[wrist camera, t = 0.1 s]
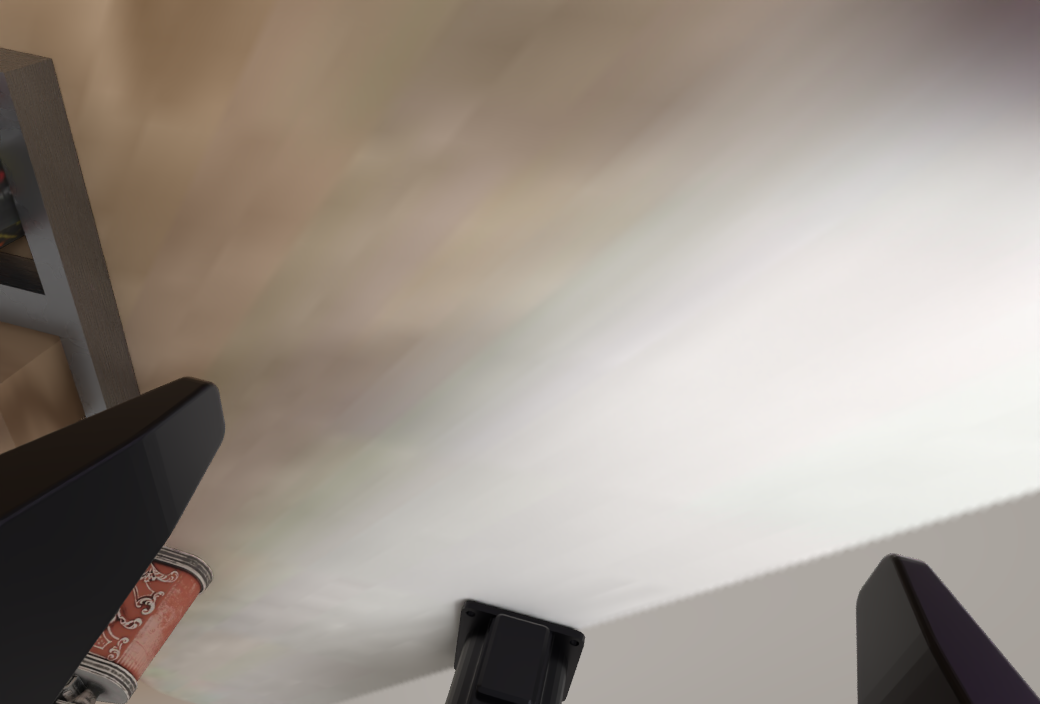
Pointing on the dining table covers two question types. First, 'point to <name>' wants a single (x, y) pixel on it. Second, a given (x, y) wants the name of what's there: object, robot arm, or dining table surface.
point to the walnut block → (34, 386)
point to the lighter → (138, 629)
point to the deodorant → (8, 213)
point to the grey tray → (57, 237)
